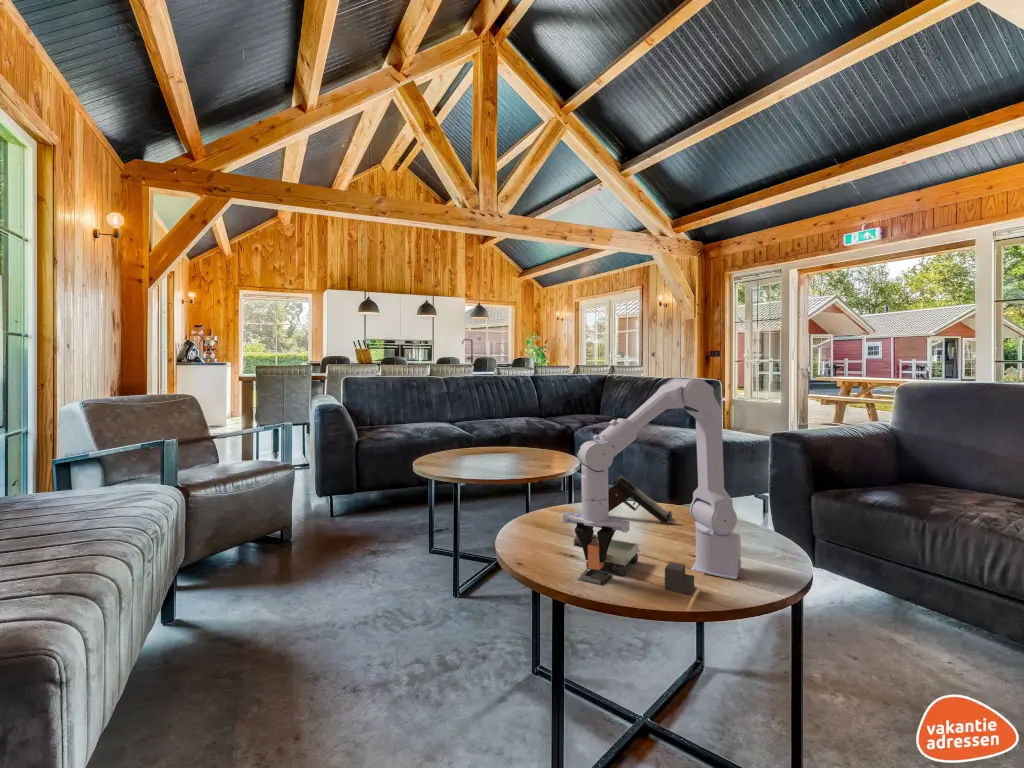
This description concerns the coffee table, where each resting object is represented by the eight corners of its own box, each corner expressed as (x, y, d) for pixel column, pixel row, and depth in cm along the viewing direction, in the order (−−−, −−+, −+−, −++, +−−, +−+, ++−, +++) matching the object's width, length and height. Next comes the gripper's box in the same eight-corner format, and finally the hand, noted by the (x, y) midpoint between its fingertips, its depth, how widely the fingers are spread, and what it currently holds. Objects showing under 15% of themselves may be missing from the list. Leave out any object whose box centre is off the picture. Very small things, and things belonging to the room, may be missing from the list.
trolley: (638, 563, 120) (638, 543, 120) (625, 579, 111) (624, 557, 111) (601, 556, 124) (601, 537, 124) (586, 571, 116) (586, 550, 116)
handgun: (646, 556, 151) (678, 519, 148) (585, 506, 158) (613, 468, 154) (648, 553, 154) (678, 516, 150) (587, 503, 161) (615, 467, 157)
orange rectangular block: (603, 565, 111) (603, 543, 111) (599, 570, 109) (599, 546, 109) (592, 563, 113) (592, 541, 112) (587, 567, 110) (587, 544, 110)
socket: (613, 577, 112) (613, 571, 112) (603, 588, 107) (603, 581, 107) (587, 572, 115) (587, 566, 115) (576, 582, 110) (576, 576, 110)
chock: (694, 590, 106) (694, 566, 106) (690, 597, 102) (690, 572, 102) (669, 585, 108) (669, 561, 108) (664, 592, 105) (664, 568, 105)
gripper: (556, 497, 111) (557, 560, 111) (621, 506, 103) (622, 572, 104) (569, 490, 117) (570, 549, 117) (632, 498, 109) (632, 561, 110)
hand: (595, 559), depth 111 cm, fingers closed on orange rectangular block, 3 cm apart
